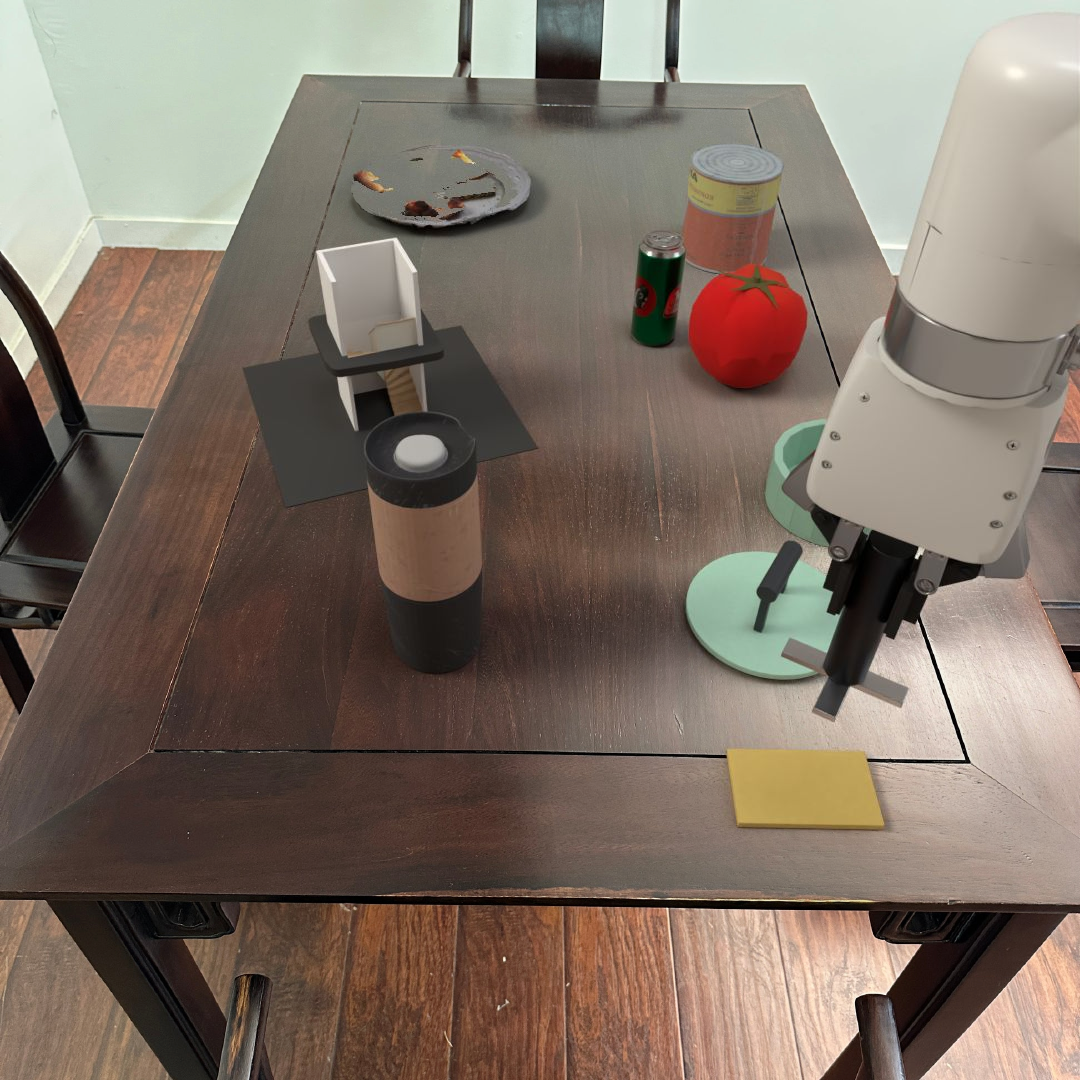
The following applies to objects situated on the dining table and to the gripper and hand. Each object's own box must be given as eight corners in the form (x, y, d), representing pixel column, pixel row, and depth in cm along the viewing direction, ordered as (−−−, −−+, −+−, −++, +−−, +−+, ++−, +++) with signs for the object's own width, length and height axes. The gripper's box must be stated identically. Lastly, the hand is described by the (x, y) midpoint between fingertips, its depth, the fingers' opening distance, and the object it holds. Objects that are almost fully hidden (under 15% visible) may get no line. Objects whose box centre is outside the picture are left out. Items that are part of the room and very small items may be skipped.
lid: (871, 598, 82) (892, 543, 77) (819, 711, 73) (838, 656, 69) (722, 540, 87) (734, 485, 82) (657, 639, 78) (665, 584, 74)
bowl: (917, 487, 92) (933, 446, 89) (879, 569, 84) (894, 527, 81) (792, 444, 97) (802, 403, 93) (744, 517, 89) (753, 476, 85)
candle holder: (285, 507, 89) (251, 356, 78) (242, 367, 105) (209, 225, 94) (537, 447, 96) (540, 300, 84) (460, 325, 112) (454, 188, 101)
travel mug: (376, 667, 76) (344, 471, 62) (407, 597, 81) (383, 402, 67) (470, 684, 75) (459, 489, 61) (495, 612, 80) (490, 418, 66)
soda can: (669, 351, 109) (682, 253, 100) (626, 344, 110) (635, 245, 101) (678, 329, 112) (691, 231, 104) (636, 321, 113) (645, 224, 105)
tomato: (673, 394, 103) (686, 297, 95) (692, 329, 112) (706, 236, 104) (789, 413, 100) (812, 316, 92) (799, 346, 110) (821, 252, 102)
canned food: (697, 225, 131) (710, 136, 123) (778, 245, 127) (796, 154, 119) (666, 261, 124) (676, 168, 115) (749, 282, 120) (766, 189, 112)
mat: (862, 755, 70) (864, 750, 70) (882, 830, 66) (885, 825, 66) (726, 752, 70) (727, 748, 70) (737, 827, 66) (738, 822, 66)
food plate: (393, 252, 124) (390, 226, 122) (327, 184, 139) (323, 159, 136) (559, 211, 134) (560, 186, 131) (481, 151, 148) (480, 127, 146)
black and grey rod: (920, 658, 61) (982, 525, 53) (885, 746, 56) (948, 614, 48) (804, 611, 63) (847, 477, 55) (762, 690, 59) (801, 556, 51)
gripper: (1181, 347, 42) (1026, 624, 55) (824, 251, 48) (758, 522, 61) (1163, 437, 37) (997, 717, 50) (769, 318, 43) (711, 597, 56)
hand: (867, 608), depth 55 cm, fingers closed on black and grey rod, 2 cm apart
